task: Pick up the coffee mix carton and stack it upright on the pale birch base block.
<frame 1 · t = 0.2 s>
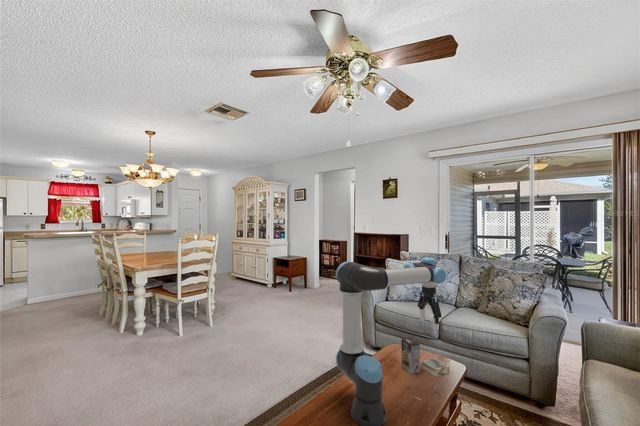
hand: (428, 325, 160), 27 cm above the table, fingers open, 13 cm apart
base block: (435, 370, 165), on the table
coffee box: (410, 369, 167), on the table
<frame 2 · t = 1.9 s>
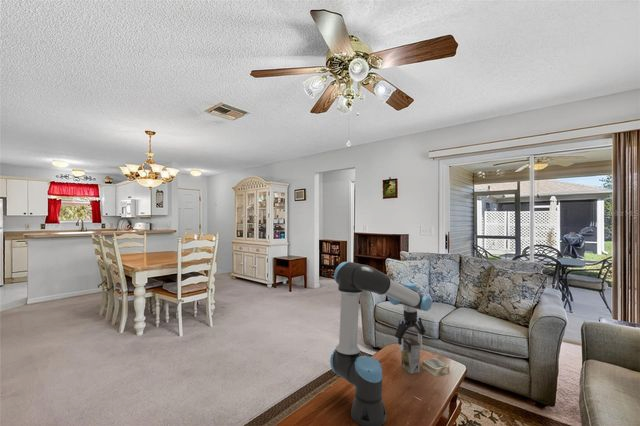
hand: (410, 347, 167), 12 cm above the table, fingers open, 13 cm apart
nothing on the table moved.
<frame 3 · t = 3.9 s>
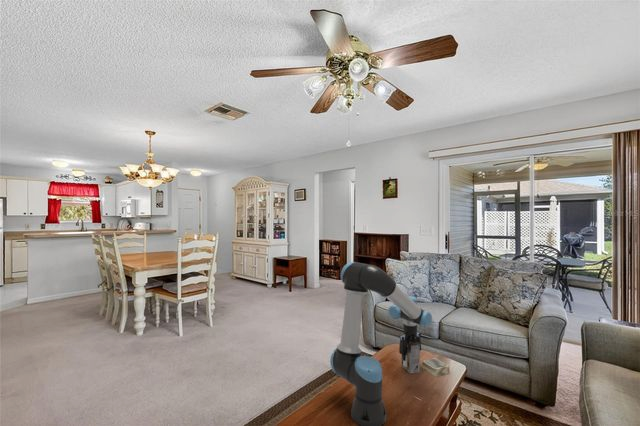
hand: (410, 364, 167), 3 cm above the table, fingers closed on coffee box, 7 cm apart
coffee box: (410, 369, 167), on the table, touching gripper
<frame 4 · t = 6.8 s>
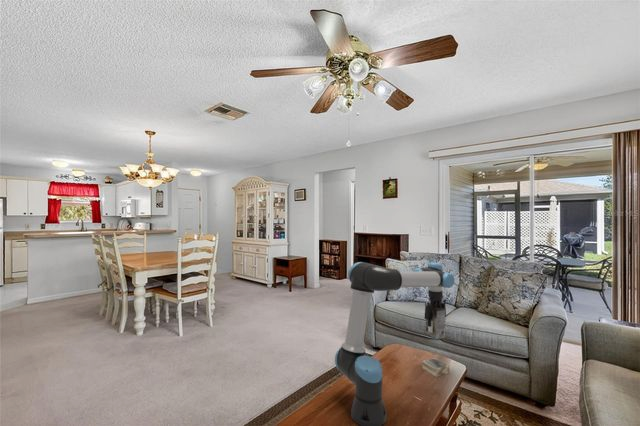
hand: (435, 330, 165), 22 cm above the table, fingers closed on coffee box, 7 cm apart
coffee box: (435, 335, 165), point 20 cm above the table, touching gripper
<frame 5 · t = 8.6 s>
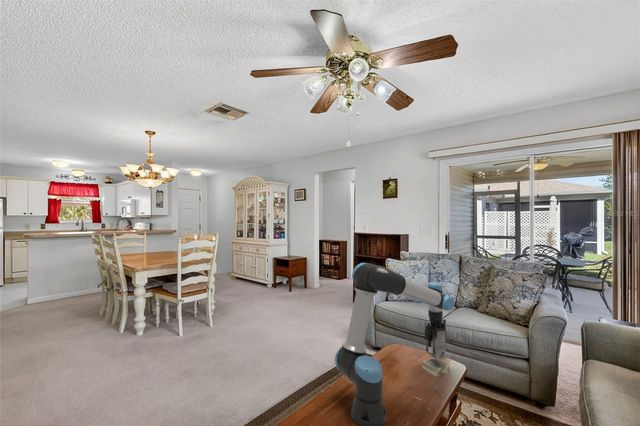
hand: (435, 351, 165), 11 cm above the table, fingers closed on coffee box, 7 cm apart
coffee box: (435, 355, 165), point 8 cm above the table, touching gripper
when the fingers open (7 cm above the table, at t = 10.3 s): coffee box stays where it is, resting on base block.
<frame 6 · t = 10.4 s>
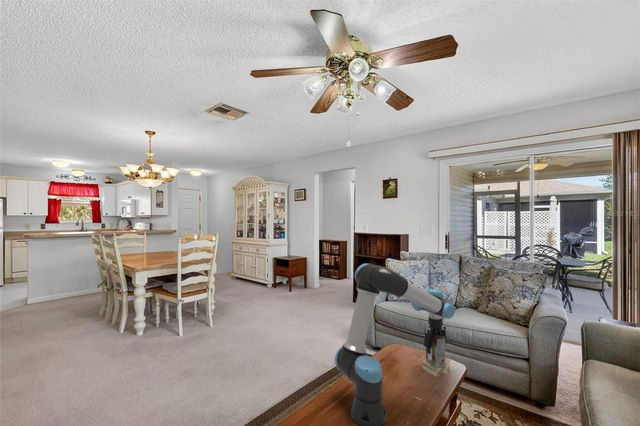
hand: (435, 357, 165), 7 cm above the table, fingers open, 8 cm apart
coffee box: (435, 363, 165), point 4 cm above the table, touching base block
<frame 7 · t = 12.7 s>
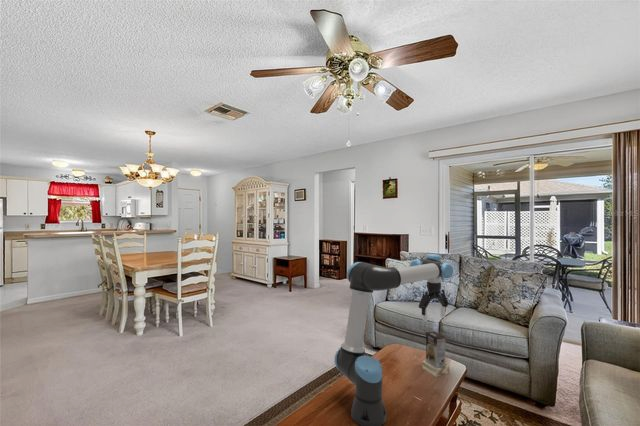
hand: (433, 319, 166), 29 cm above the table, fingers open, 13 cm apart
nothing on the table moved.
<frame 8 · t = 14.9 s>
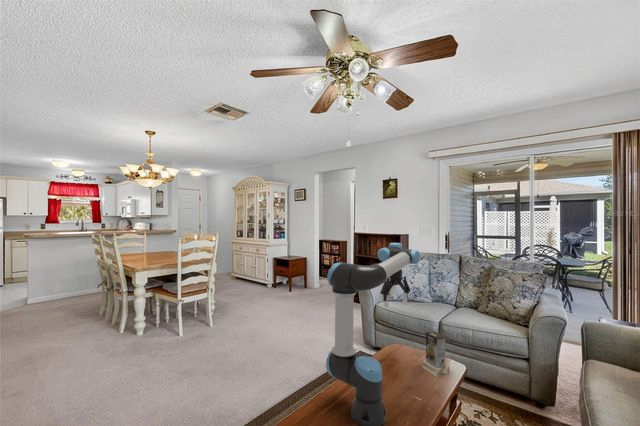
hand: (395, 305, 173), 35 cm above the table, fingers open, 13 cm apart
nothing on the table moved.
at the end: coffee box inside the target area on the base block (0.1 cm from its centre), point 4.1 cm above the base block's base; coffee box tilted 0°; the gripper is holding nothing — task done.
